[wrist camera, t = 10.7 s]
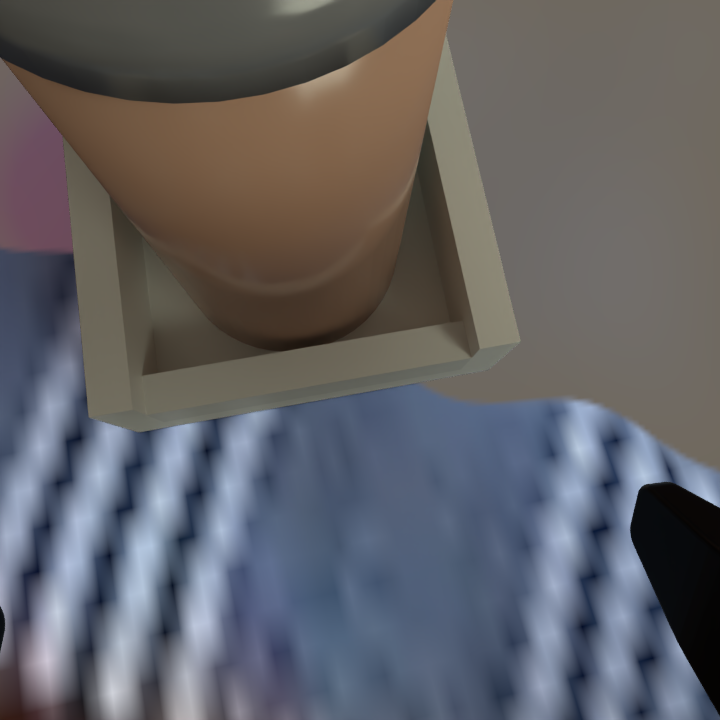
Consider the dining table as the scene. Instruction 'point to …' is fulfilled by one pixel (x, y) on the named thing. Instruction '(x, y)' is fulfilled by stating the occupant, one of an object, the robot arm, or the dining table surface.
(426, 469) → the dining table surface
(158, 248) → the grey brown rounded piece
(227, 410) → the pusher lane
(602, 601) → the dining table surface
